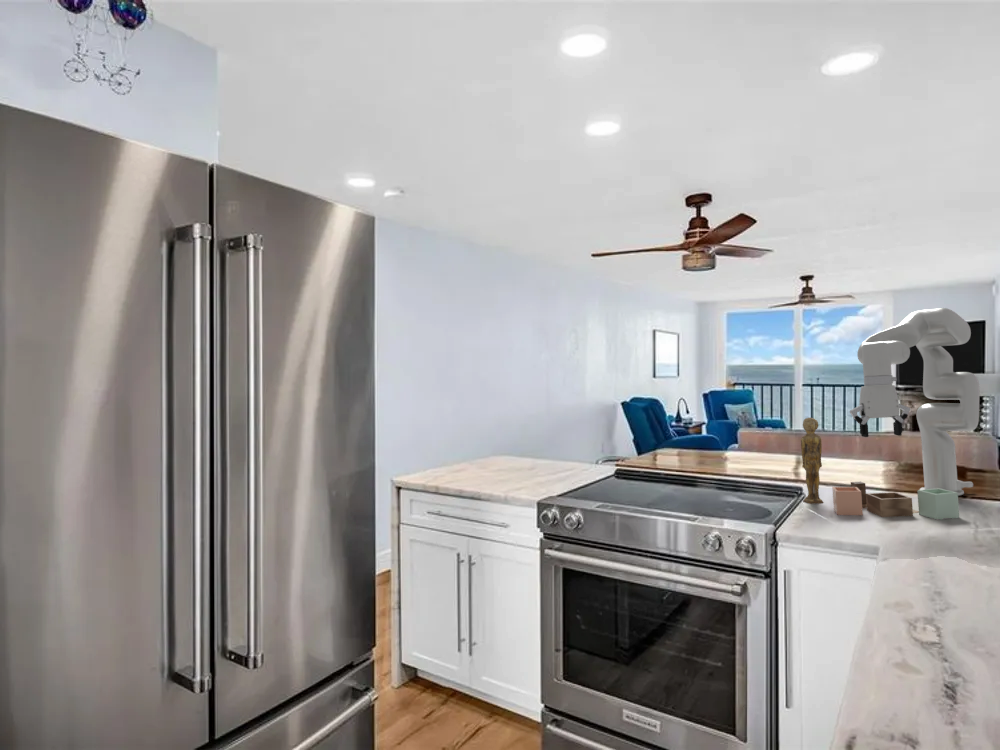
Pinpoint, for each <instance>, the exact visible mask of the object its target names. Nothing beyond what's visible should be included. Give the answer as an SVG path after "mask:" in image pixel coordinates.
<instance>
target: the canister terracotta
mask: <svg viewBox="0 0 1000 750" xmlns="http://www.w3.org/2000/svg"><path fill="white" fill-rule="evenodd" d="M832 500H833V501H832V504H833V511H834V512H835V513H836V515H837V516H839V515H840V516H863V515H864V514H863V511H864V510H863V508H862V496H861V491H860V490H859V489H858V488H857V487H851V486H832Z"/></svg>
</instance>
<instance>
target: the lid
mask: <svg viewBox="0 0 1000 750" xmlns="http://www.w3.org/2000/svg"><path fill="white" fill-rule="evenodd" d="M866 486H867V485H866V483H865V482H862V481H850V487H857V488H858V489H859V490H860V491H861V496H862V509H867V502H866V493H867V489H866Z"/></svg>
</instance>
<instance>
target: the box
mask: <svg viewBox="0 0 1000 750" xmlns="http://www.w3.org/2000/svg"><path fill="white" fill-rule="evenodd" d="M866 502H867V508H866V511H867V512H869V513H872V514H873V515H877V516H878V517H881V518H890V517H891V518H893V517H896V518H897V517H914V513H913V510H914V509H913V498H912V497H911V496H907V495H904V494H902V493H899V492H897V491H896V492H895V491H892V492H868V493H867V492H866Z"/></svg>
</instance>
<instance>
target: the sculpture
mask: <svg viewBox="0 0 1000 750" xmlns="http://www.w3.org/2000/svg"><path fill="white" fill-rule="evenodd" d="M802 428H803V430H805V432H806V434H805V435H803V436H801V439H800V448H801V458H802V466H801V467H802V468H803V469H804V470H805V483H806V486H807V487H806V488H807V492H808V493H807V496H805V498H804V499H803V500H802V502H803V503H805V504H809V505H810V504H815V505H816V504H824V501H823V500H822V499H821V497H820V494H819V488H820V469H821V468H822V466H823V464H822V446H823V444H822V437H821V436H820V435H818V434H816V433H815V432H817V430H818V428H819V422H818V420H817V419H816V418H813V417H806V418H805V419H803V422H802Z"/></svg>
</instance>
